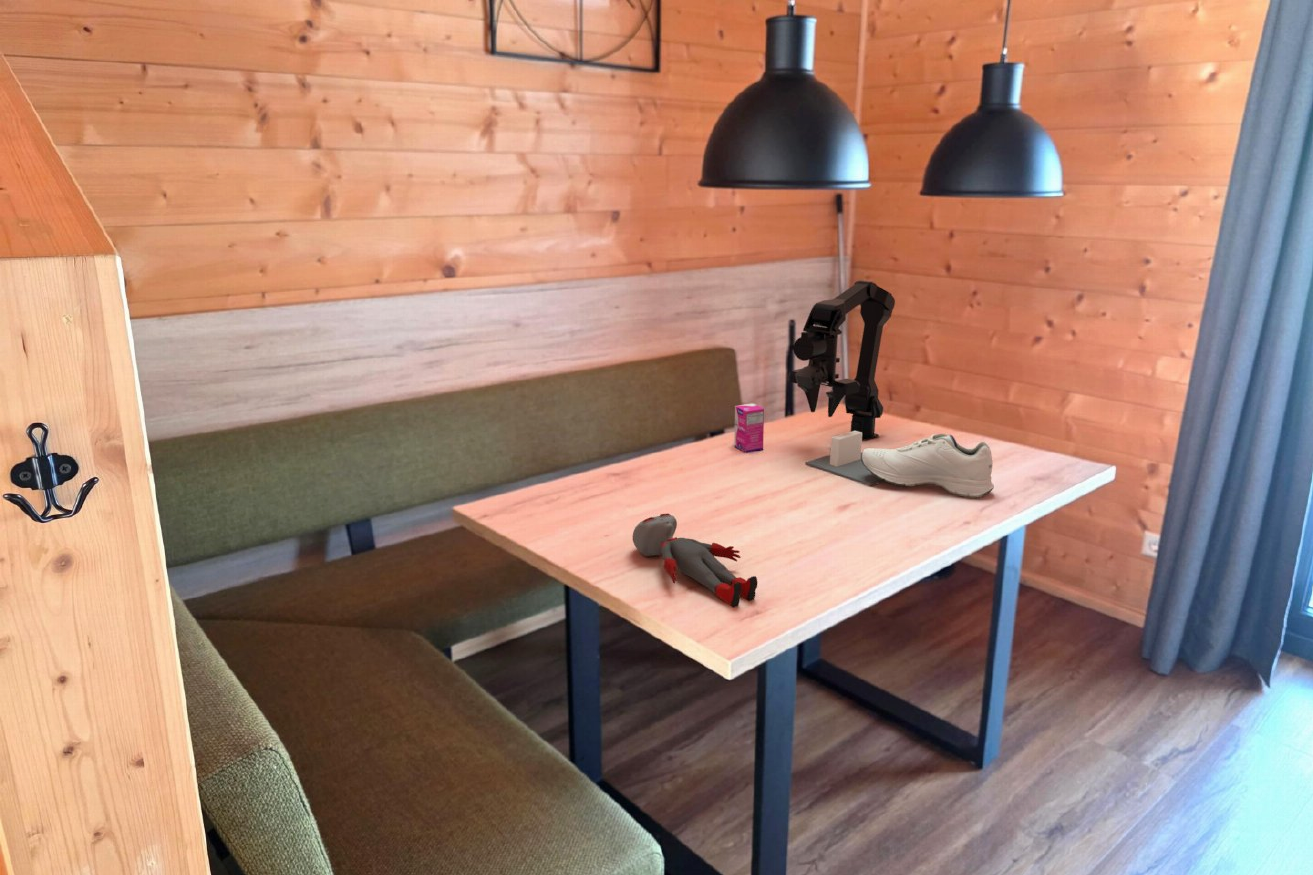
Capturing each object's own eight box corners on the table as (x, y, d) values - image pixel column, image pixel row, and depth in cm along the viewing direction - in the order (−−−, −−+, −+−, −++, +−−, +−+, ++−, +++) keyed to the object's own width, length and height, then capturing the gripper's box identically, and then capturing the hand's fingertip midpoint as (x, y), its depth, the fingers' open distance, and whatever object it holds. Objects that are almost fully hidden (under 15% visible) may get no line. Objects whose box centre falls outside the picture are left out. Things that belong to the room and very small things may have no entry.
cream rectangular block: (852, 456, 233) (854, 430, 230) (860, 459, 231) (862, 432, 229) (829, 464, 227) (830, 437, 225) (837, 466, 225) (838, 439, 223)
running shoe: (861, 468, 223) (866, 417, 219) (992, 484, 215) (999, 431, 210) (856, 484, 213) (861, 430, 209) (992, 502, 204) (1001, 446, 200)
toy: (715, 594, 152) (611, 511, 173) (706, 639, 156) (606, 553, 177) (782, 569, 162) (676, 493, 182) (772, 612, 166) (670, 533, 186)
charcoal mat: (849, 450, 239) (849, 448, 239) (913, 470, 224) (913, 468, 224) (805, 464, 229) (805, 462, 228) (869, 486, 214) (870, 483, 214)
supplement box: (733, 447, 242) (734, 405, 239) (752, 444, 244) (754, 402, 241) (744, 453, 237) (745, 410, 234) (764, 450, 239) (765, 408, 236)
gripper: (775, 352, 229) (772, 412, 234) (833, 365, 216) (829, 428, 220) (804, 346, 236) (801, 404, 241) (863, 358, 222) (858, 420, 227)
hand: (821, 414), depth 232 cm, fingers open, 5 cm apart
